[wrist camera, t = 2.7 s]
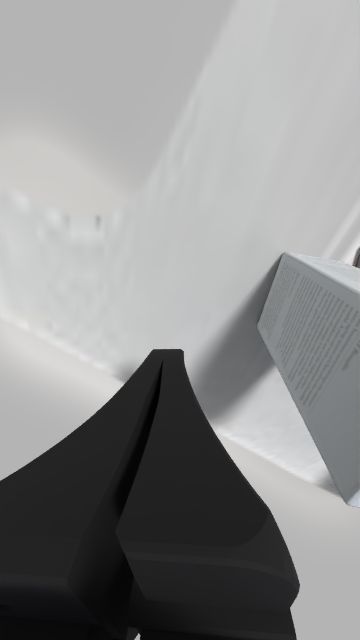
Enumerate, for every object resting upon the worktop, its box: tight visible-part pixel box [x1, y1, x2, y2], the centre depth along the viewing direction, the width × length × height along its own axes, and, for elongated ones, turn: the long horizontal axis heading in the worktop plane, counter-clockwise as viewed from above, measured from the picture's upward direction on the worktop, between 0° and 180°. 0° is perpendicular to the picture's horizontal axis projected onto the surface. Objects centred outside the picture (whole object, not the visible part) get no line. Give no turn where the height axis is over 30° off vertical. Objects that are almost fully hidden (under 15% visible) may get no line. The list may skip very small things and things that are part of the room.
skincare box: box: [257, 252, 360, 508], centre depth 11 cm, size 6×4×12 cm
